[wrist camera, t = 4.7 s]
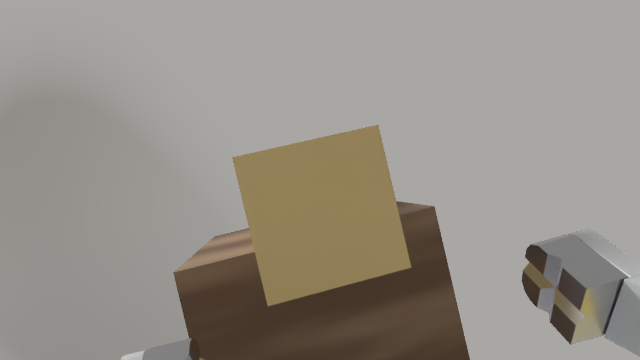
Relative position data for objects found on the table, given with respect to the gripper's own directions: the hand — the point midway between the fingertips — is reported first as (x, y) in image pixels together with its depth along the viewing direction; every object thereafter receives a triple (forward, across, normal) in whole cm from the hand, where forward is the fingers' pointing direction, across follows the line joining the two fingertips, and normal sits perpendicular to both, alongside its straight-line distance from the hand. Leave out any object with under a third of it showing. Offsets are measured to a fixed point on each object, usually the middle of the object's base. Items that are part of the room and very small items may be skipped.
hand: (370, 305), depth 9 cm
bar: (+9, -1, -4) cm, 10 cm away
